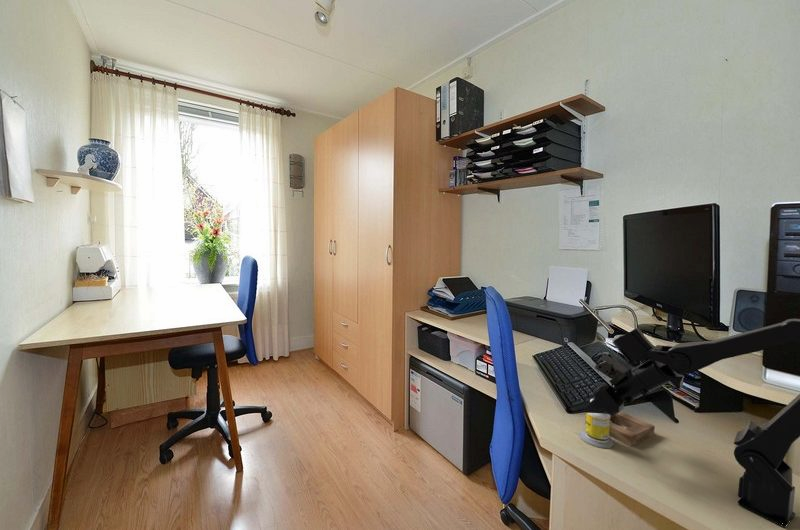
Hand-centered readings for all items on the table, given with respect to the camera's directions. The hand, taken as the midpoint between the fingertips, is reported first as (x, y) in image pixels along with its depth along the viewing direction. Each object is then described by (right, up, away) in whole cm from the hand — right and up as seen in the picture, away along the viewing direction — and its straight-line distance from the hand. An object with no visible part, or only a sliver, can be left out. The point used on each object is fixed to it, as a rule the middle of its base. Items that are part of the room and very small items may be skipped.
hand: (592, 405), depth 90 cm
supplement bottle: (+1, -8, -1) cm, 8 cm away
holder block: (+10, -9, +5) cm, 14 cm away
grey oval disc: (+1, -9, -1) cm, 9 cm away
